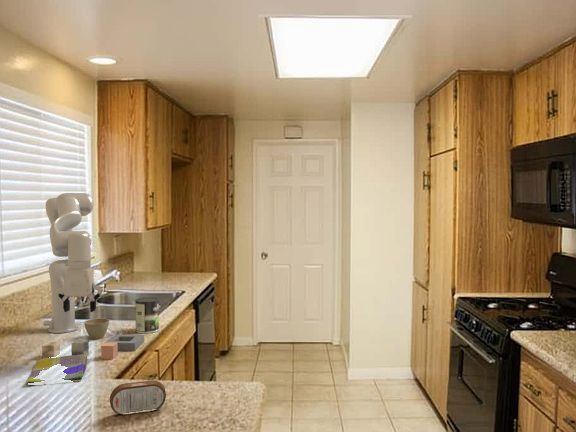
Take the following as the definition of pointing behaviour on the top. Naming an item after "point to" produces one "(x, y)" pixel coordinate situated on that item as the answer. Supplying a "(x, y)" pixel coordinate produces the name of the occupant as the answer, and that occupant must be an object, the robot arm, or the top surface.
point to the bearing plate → (127, 342)
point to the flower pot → (96, 327)
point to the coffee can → (147, 315)
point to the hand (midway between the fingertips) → (79, 311)
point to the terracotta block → (109, 350)
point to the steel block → (80, 347)
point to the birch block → (50, 349)
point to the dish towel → (73, 362)
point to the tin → (137, 396)
